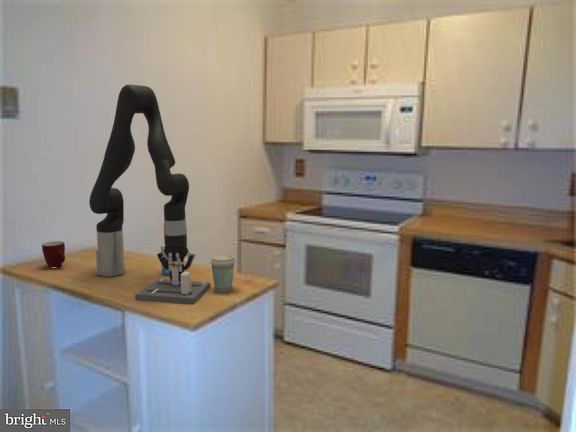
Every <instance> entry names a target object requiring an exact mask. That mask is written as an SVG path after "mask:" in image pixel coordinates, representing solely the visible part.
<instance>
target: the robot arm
mask: <svg viewBox="0 0 576 432" xmlns="http://www.w3.org/2000/svg"><path fill="white" fill-rule="evenodd" d="M135 114H143V116H144V118H145V119H146V121H147V127H148V135H147V141H146V142H147V150H148V153H149V155H150V158H151V161H152V164H153V166H154V171H155V181H156V186H157V189H158V190H159V192H160V193H161V194H162V195H163V196H167V197H170V200H169V201H167V202H166V203H165V204H164V206H163V217H164V219H163V220H164V221H163V222H164V223H163V239H164V241H163V242H164V243H163V244H165V249H164V251H163V252H161V251H159V253H157V254H156V255H157V258H158V260H159V262H160V264H161V267H162V266H163V267H164V269H168V270H169V275H168V276H169V280H171V281H172V266H173V265H174V264H175V263H176V262H177V265H178V267H179V282H181V274H182V273H183V272H185V271H187V270H189V269H190V268H191V266H192V263H193V261H194V259H195V258H196V254H195V253H191V252H189V248H188V236H187V235H188V228H187V222H186V220H187V219H186V205H187V201H188V196H189V192H190V183H189V180H188V177H187V176H186V175H185V174H184V173H172V172H171V168H173V167H174V166H175V165H176V159H175V156H174V154H173V152H172V149H171V147H170V144H169V142H168V139H167V137H166V133H165V128H164V125H163V120H162V114H161V111H160V107H159V103H158V100H157V96H156V94H155V91H154V90H153V89H152V88H151V87H149V86H146V85H140V84H125V85H123V86H122V88H121V90H120V92H119V93H118V97H117V102H116V108H115V116H114V119H113V120H114V121H113V125H112V128H111V132H110V134H109V135H110V137H109V139H108V142H107V145H106V149H105V153H104V157H103V160H102V164H101V167H100V170H99V172H98V176H97V178H96V181H95V182H94V185H93V187H92V190H91V192H90V196H89V208H90V210H91V211H92V213H94V214H97V215H103V214H106V216H105V217H104V218H103V219H102V220H101V221H99V222H98V223H97V224H96V225H95V226H96V228H95V229H96V238H97V239H96V240H97V249H96V251H95V260H96V275H97V276H101V277H105V278H106V277H109V278H111V277H117V276H122V275H123V274H125V273H126V266H125V249H124V246H125V245H124V233H123V225H124V222H125V220H124V217H125V214H124V207H125V206H124V197H123V193H122V191H121V190H120V189H119V188H118V187H117V188H116V187H113V185H114V184H115V183H116V181H118V179H120V177H121V176H122V175H124V173H125V172H127V170H128V168H130V165H131V164H132V161H133V157H134V154H135V153H136V152H135V150H136V145H135V141H134V137H133V135H132V121H133V118H134V116H135ZM166 256H167V257H168V259H169V262H168V261H167V259H166ZM185 258H186V259H187V261H185ZM185 262H186V263H185Z"/></svg>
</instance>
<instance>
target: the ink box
mask: <svg viewBox="0 0 576 432" xmlns="http://www.w3.org/2000/svg"><path fill="white" fill-rule="evenodd" d="M164 249H165V243H163V244H161V245H160V252H163V251H164ZM166 259H167V261H168V262H169V259H168V257H167V256H166ZM175 264H177V262H176V263H175ZM161 275H162V276H170V275H169V270H168V269H164V267H163V266H162V265H161Z"/></svg>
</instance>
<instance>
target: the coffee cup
mask: <svg viewBox="0 0 576 432" xmlns="http://www.w3.org/2000/svg"><path fill="white" fill-rule="evenodd" d="M209 263H210V264H211V270H212V271H211V272H212V277H213V278H212V279H213V284H214V285H213V286H214V291H215V292H216V293H218V294H219V293H221V294H224V293H225V294H226V293H230V292H232V290H233V282H234V280H233V279H234V274H235V273H234V272H235V271H234V270H235V264H236V259H235V256H234V255H232V254H228V253H227V254H225V253H221V254H216V255H213V256H212V257H211V260H210V262H209ZM229 291H230V292H229Z"/></svg>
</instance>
